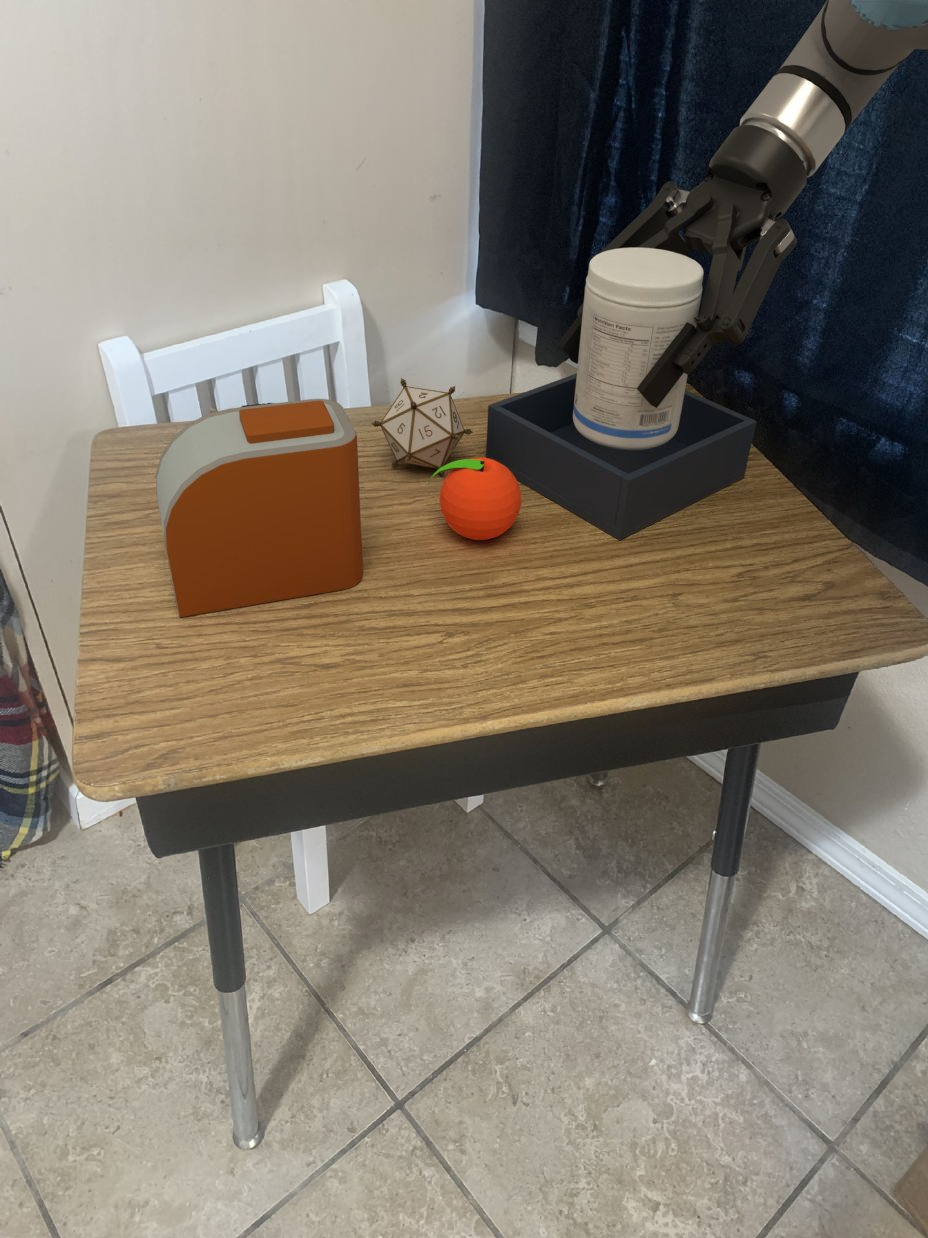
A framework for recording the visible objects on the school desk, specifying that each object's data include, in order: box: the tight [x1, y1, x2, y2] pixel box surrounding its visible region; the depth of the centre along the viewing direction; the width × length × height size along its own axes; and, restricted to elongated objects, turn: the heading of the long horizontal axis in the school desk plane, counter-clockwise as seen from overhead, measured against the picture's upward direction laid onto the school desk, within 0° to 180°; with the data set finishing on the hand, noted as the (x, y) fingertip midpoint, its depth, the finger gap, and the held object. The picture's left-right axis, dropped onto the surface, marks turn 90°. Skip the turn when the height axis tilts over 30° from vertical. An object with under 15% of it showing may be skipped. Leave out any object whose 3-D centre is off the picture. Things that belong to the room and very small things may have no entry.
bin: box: [485, 372, 758, 541], centre depth 93 cm, size 18×18×6 cm
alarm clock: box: [155, 398, 364, 618], centre depth 75 cm, size 15×8×14 cm, turn 108°
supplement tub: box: [573, 248, 705, 450], centre depth 84 cm, size 10×10×15 cm
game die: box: [370, 377, 474, 478], centre depth 92 cm, size 9×8×10 cm
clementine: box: [427, 457, 522, 541], centre depth 83 cm, size 8×7×7 cm
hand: (605, 375), depth 83 cm, fingers closed on supplement tub, 9 cm apart
